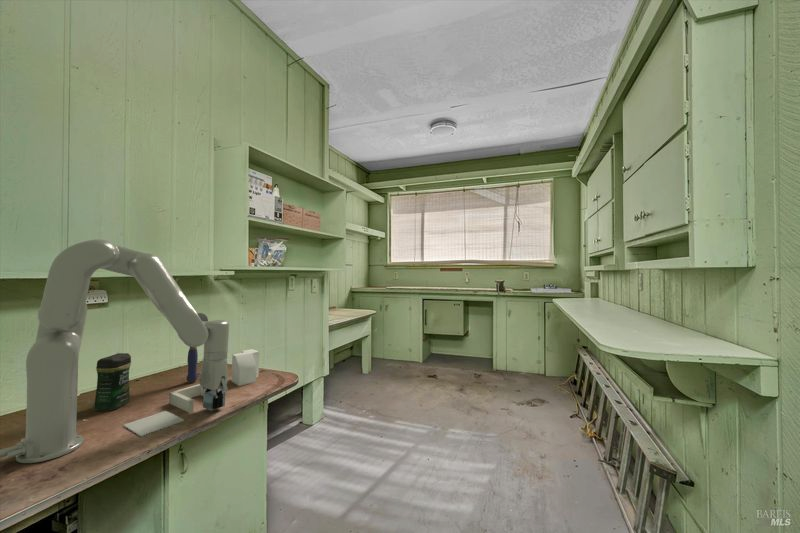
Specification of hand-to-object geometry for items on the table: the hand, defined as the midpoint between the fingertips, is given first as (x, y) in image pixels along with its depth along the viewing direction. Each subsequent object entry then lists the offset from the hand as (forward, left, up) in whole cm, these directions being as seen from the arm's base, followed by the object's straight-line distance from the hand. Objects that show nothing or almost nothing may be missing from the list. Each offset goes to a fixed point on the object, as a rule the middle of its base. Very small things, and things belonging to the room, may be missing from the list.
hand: (212, 405), depth 115 cm
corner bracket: (+26, +18, -2) cm, 31 cm away
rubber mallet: (+11, +34, -2) cm, 36 cm away
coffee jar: (-17, +32, -2) cm, 37 cm away
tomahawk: (+24, +42, -3) cm, 49 cm away
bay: (+1, +12, -2) cm, 12 cm away
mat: (-15, +6, -2) cm, 17 cm away
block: (0, 0, -1) cm, 1 cm away
